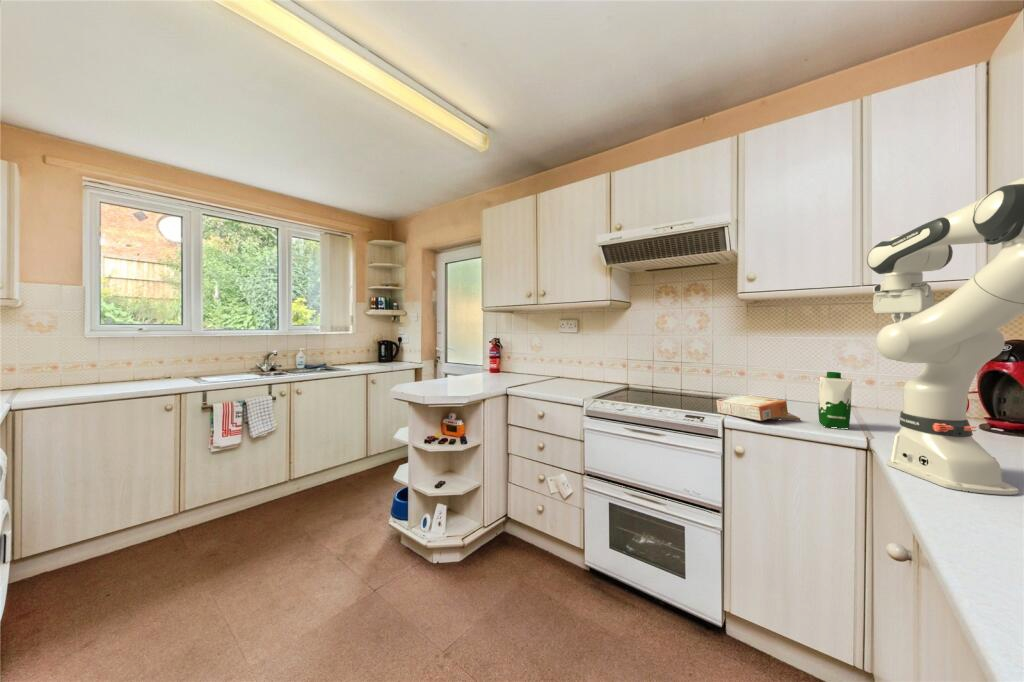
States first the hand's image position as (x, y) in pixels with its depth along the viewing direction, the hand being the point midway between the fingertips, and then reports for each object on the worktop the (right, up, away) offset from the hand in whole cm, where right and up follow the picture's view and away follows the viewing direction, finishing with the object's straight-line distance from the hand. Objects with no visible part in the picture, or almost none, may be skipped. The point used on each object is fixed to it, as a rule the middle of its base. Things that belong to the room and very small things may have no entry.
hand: (900, 327), depth 124 cm
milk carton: (-9, -37, +15) cm, 41 cm away
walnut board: (-21, -36, +34) cm, 54 cm away
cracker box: (-28, -32, +19) cm, 46 cm away
